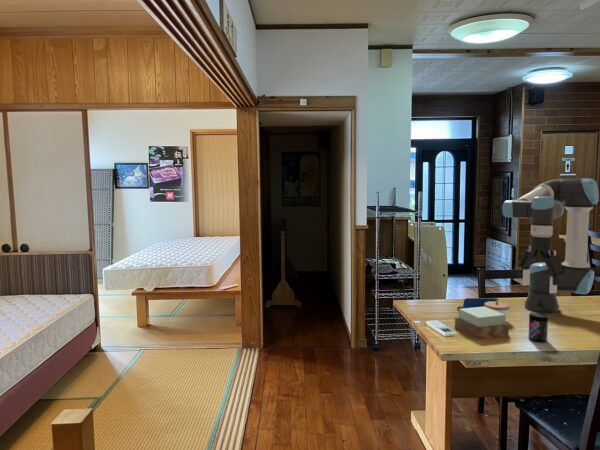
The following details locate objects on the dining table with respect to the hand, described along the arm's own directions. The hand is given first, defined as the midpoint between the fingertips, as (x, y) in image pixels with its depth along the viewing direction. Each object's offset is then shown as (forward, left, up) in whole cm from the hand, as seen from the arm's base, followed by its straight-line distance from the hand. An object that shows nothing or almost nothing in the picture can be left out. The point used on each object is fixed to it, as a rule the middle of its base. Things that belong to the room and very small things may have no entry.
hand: (539, 288), depth 170 cm
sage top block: (+15, -15, -16) cm, 26 cm away
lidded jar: (-1, -25, -21) cm, 33 cm away
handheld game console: (-1, -38, -21) cm, 44 cm away
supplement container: (0, 0, -21) cm, 21 cm away
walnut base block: (+15, -15, -21) cm, 30 cm away
